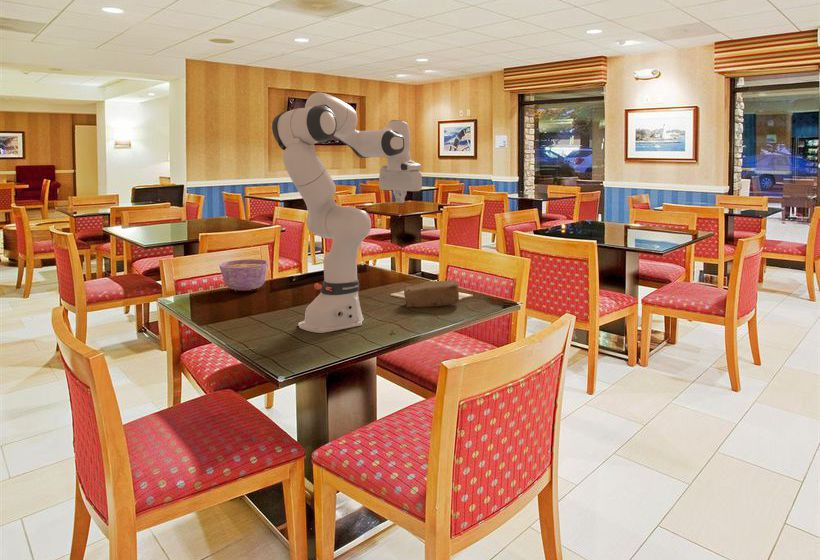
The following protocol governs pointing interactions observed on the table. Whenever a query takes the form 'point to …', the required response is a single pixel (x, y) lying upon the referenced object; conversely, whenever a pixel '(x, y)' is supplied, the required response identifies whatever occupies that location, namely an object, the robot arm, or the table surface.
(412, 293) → the block
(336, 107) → the robot arm
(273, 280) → the table surface
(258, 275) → the bowl of food
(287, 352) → the table surface
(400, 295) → the board
